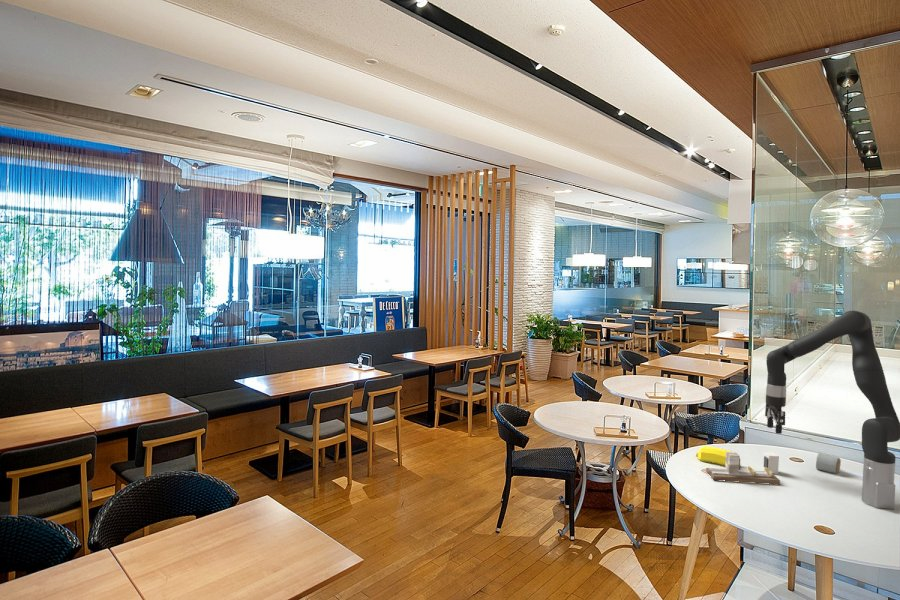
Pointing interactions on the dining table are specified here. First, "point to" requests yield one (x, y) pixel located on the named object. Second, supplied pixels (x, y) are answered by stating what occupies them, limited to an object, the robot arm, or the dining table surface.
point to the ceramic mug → (828, 463)
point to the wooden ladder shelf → (741, 472)
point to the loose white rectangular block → (771, 462)
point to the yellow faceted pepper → (712, 455)
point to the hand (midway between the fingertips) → (774, 430)
